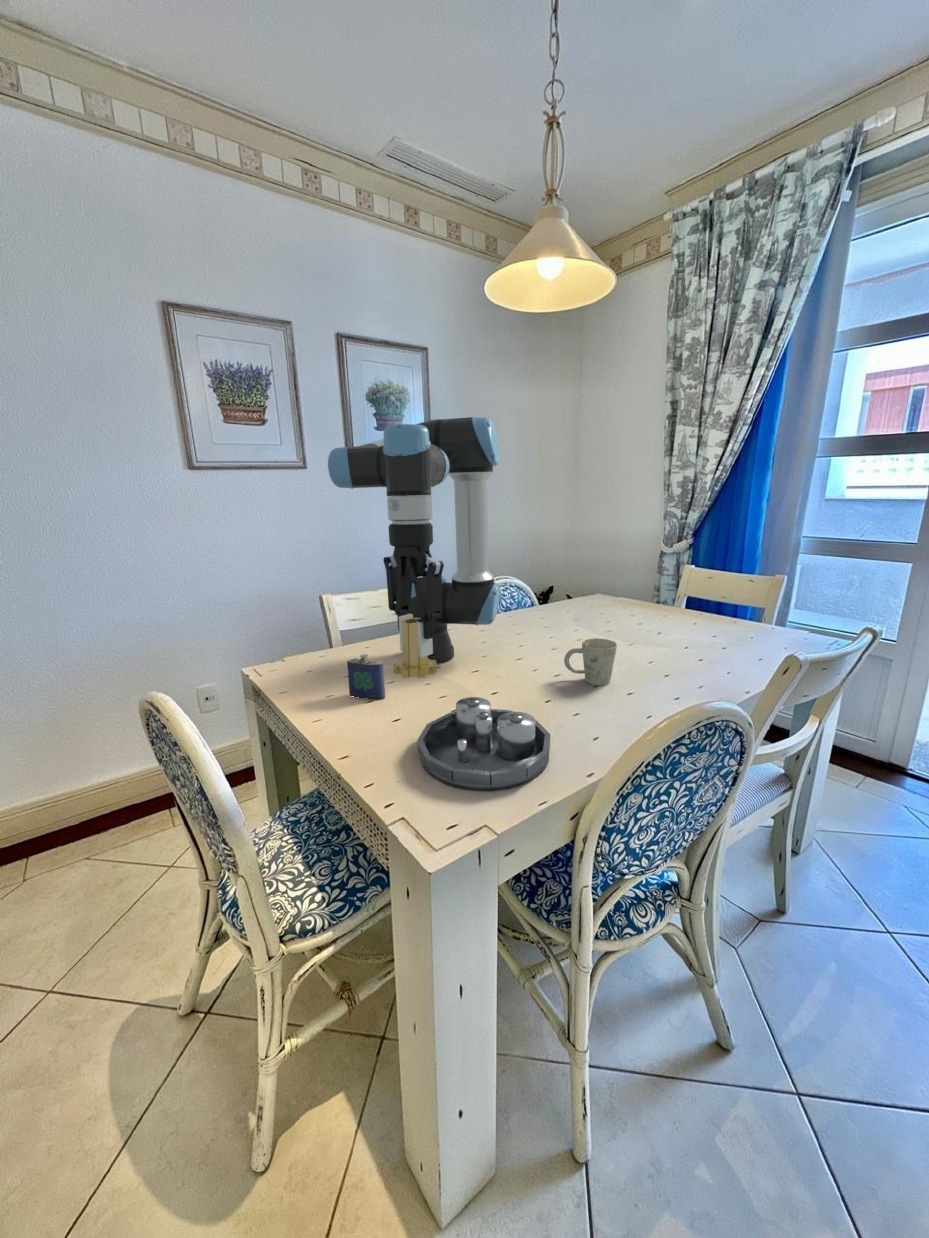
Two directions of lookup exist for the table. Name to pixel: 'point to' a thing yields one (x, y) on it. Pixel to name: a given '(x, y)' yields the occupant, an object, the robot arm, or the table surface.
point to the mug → (595, 660)
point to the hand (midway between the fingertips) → (416, 651)
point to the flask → (366, 678)
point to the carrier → (484, 747)
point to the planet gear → (413, 654)
